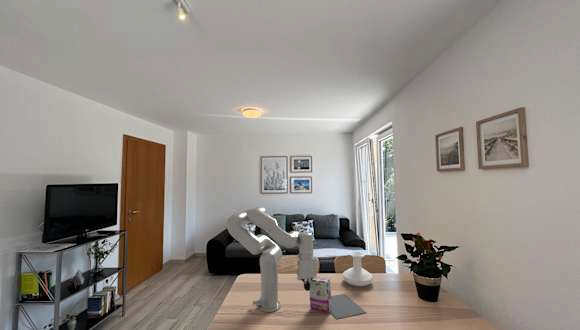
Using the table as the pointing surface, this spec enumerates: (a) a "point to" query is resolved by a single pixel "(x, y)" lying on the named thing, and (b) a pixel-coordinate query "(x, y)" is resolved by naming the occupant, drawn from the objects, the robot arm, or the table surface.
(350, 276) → the candle holder
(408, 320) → the table surface
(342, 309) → the mat
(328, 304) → the candy bar box
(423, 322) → the table surface
